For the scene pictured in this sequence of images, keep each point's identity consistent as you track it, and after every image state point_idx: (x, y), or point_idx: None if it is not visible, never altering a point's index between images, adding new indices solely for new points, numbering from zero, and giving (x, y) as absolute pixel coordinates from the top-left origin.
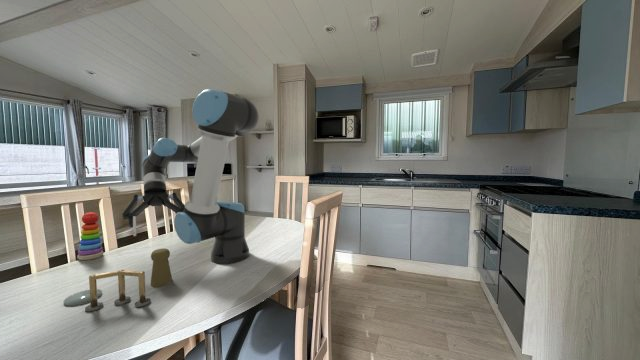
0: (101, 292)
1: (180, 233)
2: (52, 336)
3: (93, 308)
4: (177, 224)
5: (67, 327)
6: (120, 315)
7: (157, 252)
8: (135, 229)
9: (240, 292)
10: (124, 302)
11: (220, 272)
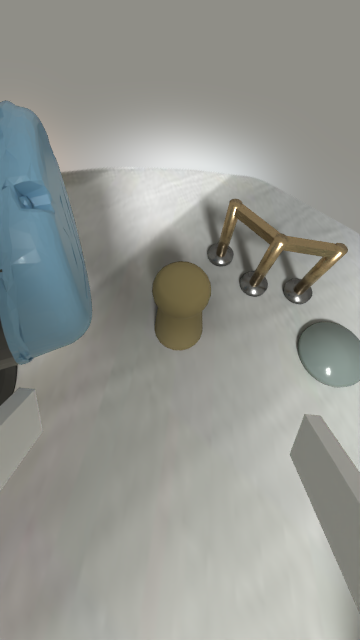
0: (300, 346)
1: (83, 279)
2: None
3: (297, 280)
4: (73, 257)
5: None
6: (251, 242)
7: (193, 265)
8: (316, 430)
9: (72, 194)
10: (249, 272)
11: None
